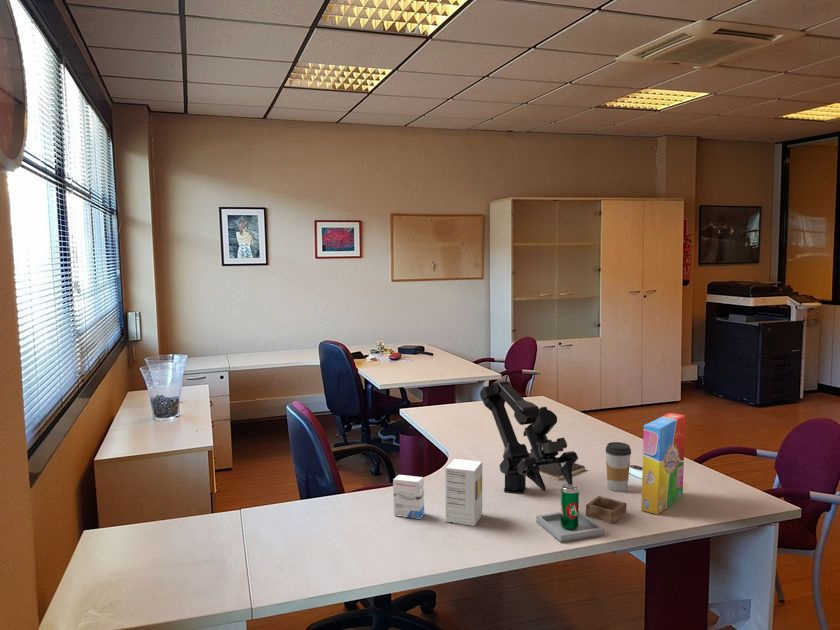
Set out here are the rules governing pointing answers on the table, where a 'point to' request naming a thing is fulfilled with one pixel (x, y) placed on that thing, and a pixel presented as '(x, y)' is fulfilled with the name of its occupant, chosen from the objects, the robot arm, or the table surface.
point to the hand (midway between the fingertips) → (558, 488)
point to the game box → (663, 462)
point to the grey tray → (583, 531)
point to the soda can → (569, 506)
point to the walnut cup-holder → (606, 509)
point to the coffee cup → (618, 465)
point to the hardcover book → (557, 469)
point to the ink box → (408, 496)
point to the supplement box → (463, 491)
